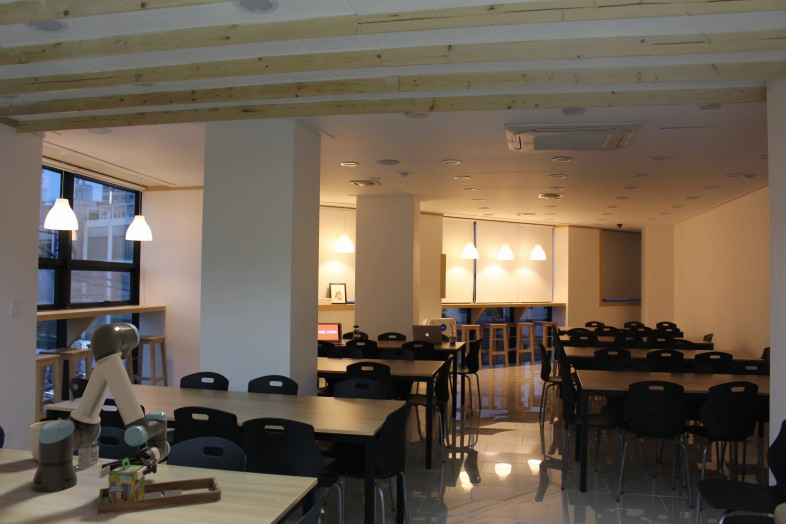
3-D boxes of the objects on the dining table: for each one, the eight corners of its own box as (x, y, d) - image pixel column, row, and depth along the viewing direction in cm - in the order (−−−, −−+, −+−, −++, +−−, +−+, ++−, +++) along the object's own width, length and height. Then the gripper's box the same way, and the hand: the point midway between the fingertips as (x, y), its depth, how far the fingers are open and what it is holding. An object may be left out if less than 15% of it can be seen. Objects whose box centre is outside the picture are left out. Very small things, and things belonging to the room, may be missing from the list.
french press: (71, 469, 250) (74, 408, 251) (80, 461, 261) (82, 403, 262) (97, 468, 252) (99, 408, 253) (104, 460, 263) (106, 403, 264)
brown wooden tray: (99, 497, 216) (100, 488, 217) (214, 484, 232) (214, 476, 232) (96, 514, 200) (97, 505, 200) (220, 499, 216) (220, 490, 216)
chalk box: (133, 506, 206) (134, 463, 206) (107, 506, 206) (108, 462, 206) (145, 497, 215) (146, 455, 215) (120, 496, 215) (121, 455, 216)
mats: (143, 494, 220) (143, 492, 220) (180, 490, 225) (180, 488, 225) (143, 506, 207) (143, 505, 207) (183, 502, 213) (183, 500, 213)
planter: (52, 452, 276) (54, 418, 276) (81, 456, 270) (82, 421, 271) (18, 462, 260) (20, 426, 261) (48, 466, 254) (49, 429, 255)
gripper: (177, 469, 229) (153, 487, 208) (113, 467, 230) (83, 485, 208) (177, 449, 229) (154, 465, 208) (114, 448, 230) (83, 463, 209)
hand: (118, 475), depth 208 cm, fingers open, 13 cm apart
